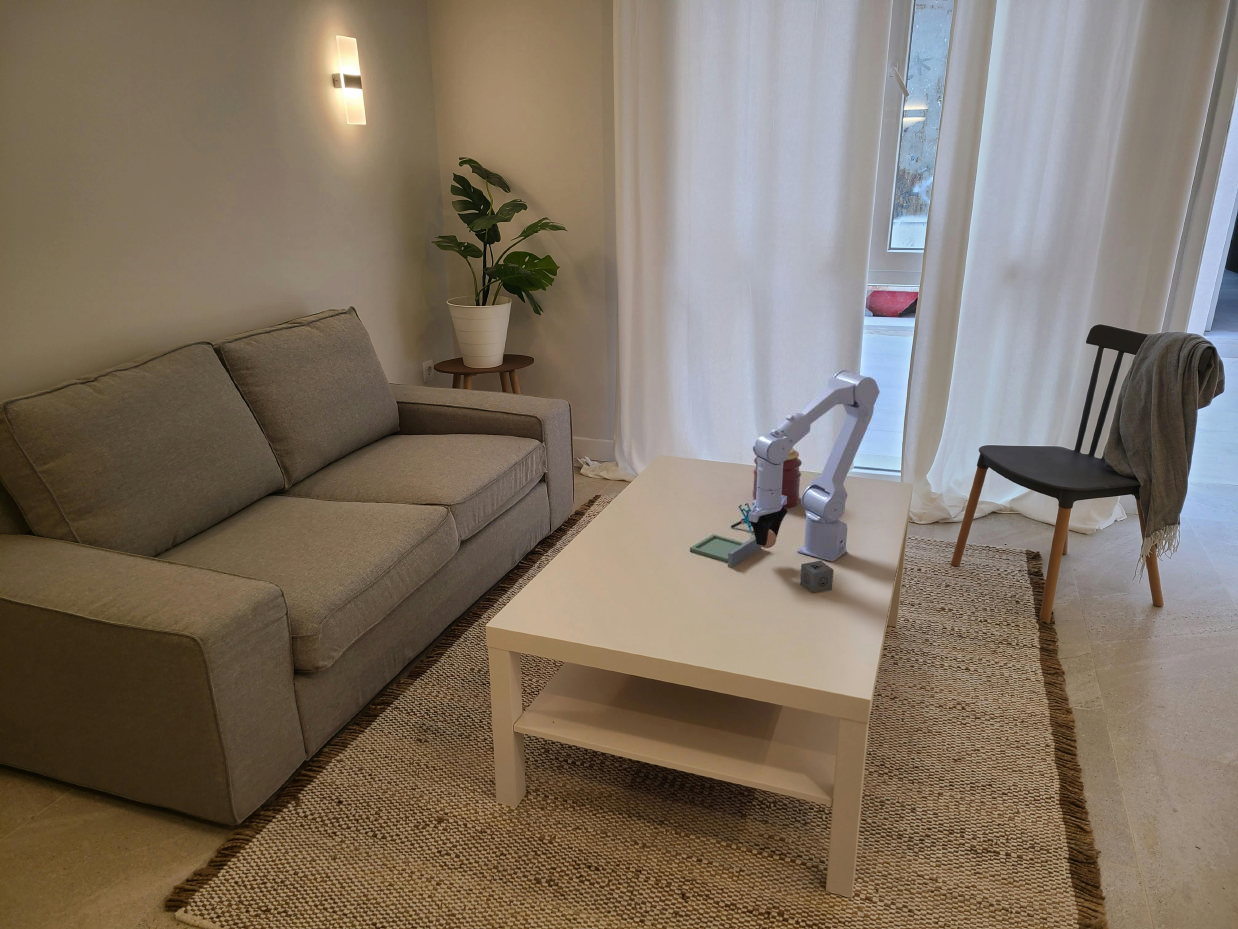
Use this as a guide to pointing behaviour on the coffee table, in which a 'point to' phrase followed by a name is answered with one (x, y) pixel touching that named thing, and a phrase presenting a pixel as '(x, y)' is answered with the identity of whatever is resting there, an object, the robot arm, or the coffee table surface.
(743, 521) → the stick construction toy
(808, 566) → the dice cube
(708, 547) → the green tray
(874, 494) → the coffee table surface
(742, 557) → the low wall
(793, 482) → the canister
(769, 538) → the rubber ball
